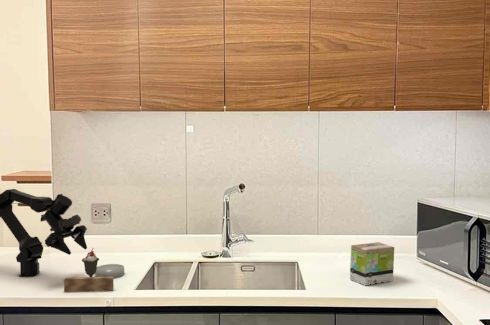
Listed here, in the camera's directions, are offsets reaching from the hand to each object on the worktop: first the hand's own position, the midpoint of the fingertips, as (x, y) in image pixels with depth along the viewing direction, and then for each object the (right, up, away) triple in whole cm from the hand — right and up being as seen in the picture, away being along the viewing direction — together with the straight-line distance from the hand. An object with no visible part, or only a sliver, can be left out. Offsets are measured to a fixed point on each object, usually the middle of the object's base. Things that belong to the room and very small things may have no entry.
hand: (78, 251), depth 192 cm
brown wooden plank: (+7, -13, -9) cm, 18 cm away
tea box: (+119, -13, +5) cm, 120 cm away
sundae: (+6, -13, -1) cm, 14 cm away
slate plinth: (+9, -12, +11) cm, 19 cm away
